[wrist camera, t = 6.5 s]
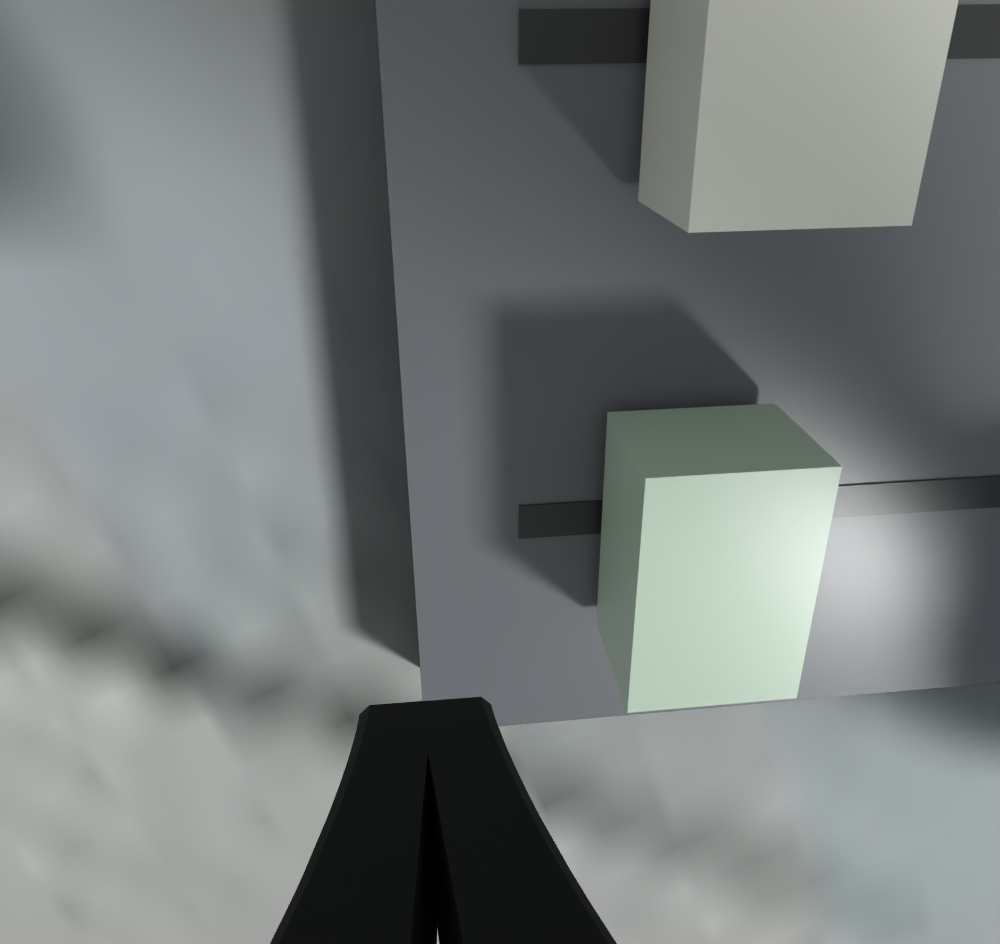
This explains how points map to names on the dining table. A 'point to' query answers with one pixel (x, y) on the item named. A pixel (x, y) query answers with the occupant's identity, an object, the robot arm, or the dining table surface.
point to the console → (673, 356)
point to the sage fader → (710, 553)
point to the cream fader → (790, 111)
